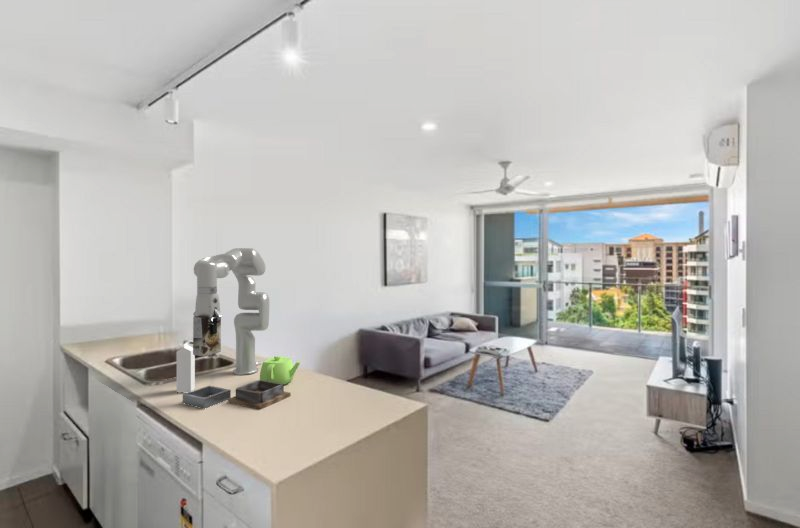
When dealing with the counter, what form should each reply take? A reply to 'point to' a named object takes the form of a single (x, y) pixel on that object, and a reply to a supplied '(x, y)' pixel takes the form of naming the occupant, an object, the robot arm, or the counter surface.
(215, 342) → the coffee box
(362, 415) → the counter surface
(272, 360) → the teapot
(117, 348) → the counter surface
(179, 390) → the milk
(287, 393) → the dock
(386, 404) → the counter surface
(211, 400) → the grey square frame
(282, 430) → the counter surface
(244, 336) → the robot arm
